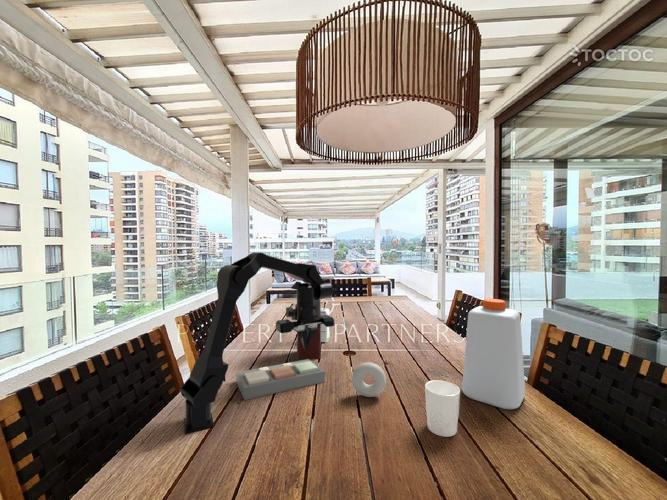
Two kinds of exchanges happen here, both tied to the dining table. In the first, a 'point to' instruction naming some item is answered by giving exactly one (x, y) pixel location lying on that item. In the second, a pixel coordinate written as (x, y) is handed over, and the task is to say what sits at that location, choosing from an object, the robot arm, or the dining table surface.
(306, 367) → the sage key
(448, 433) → the white cup
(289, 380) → the keypad
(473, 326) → the plastic bottle
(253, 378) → the ivory key
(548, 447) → the dining table surface
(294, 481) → the dining table surface
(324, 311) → the syrup box
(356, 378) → the donut
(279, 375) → the terracotta key
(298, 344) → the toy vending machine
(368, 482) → the dining table surface
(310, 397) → the dining table surface
